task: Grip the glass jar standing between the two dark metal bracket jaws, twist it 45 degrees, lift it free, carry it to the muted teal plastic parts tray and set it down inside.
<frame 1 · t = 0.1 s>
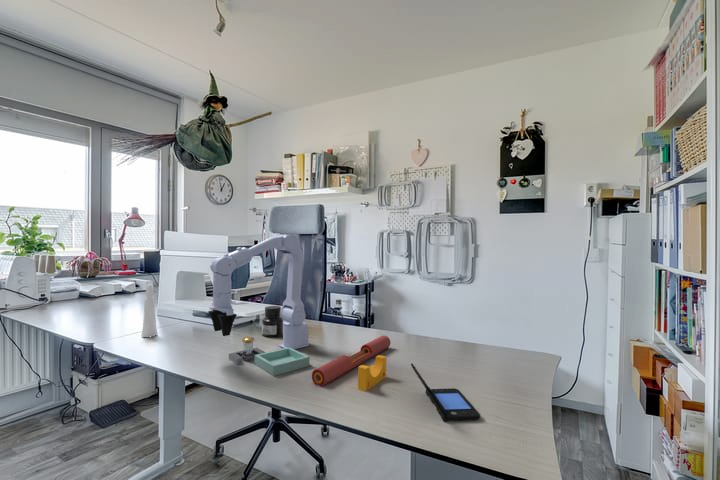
hand: (222, 333, 117), 10 cm above the table, fingers open, 7 cm apart
blood vessel: (356, 365, 118), on the table
glass jar: (248, 348, 121), in the bracket
bracket: (248, 358, 121), on the table
black handheld device: (443, 407, 88), on the table
pipe clamp: (370, 383, 102), on the table
tray: (281, 364, 115), on the table
ink bottle: (272, 335, 151), on the table
cosmetic bottle: (149, 336, 148), on the table
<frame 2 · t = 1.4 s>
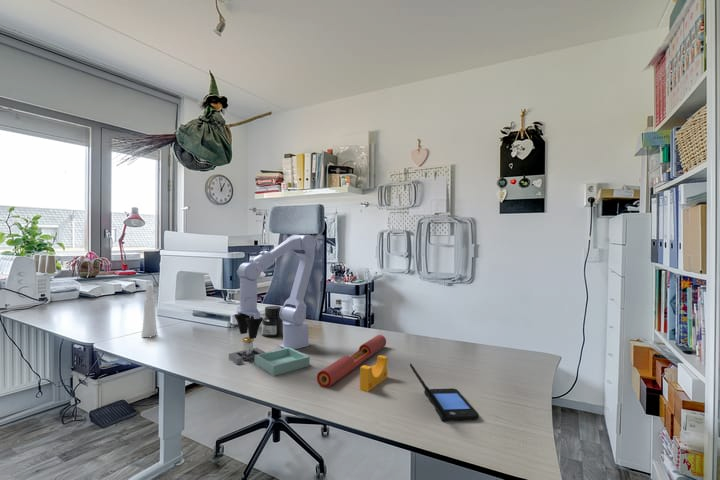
hand: (248, 335, 121), 8 cm above the table, fingers open, 7 cm apart
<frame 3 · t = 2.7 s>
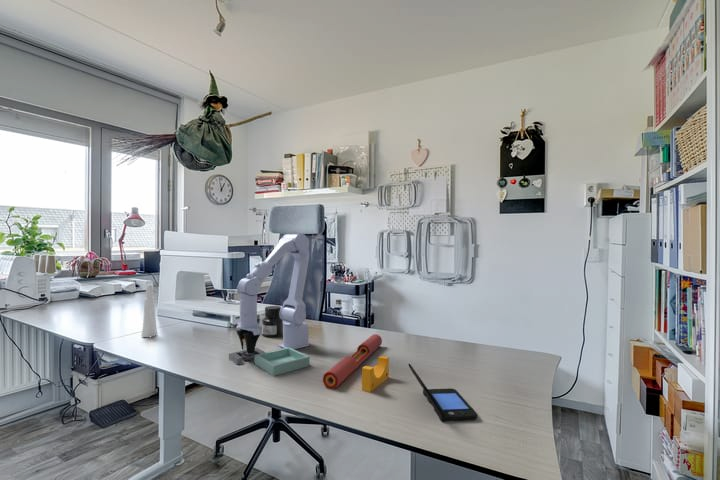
hand: (248, 351, 121), 3 cm above the table, fingers closed on glass jar, 4 cm apart
glass jar: (248, 348, 121), in the bracket, touching gripper
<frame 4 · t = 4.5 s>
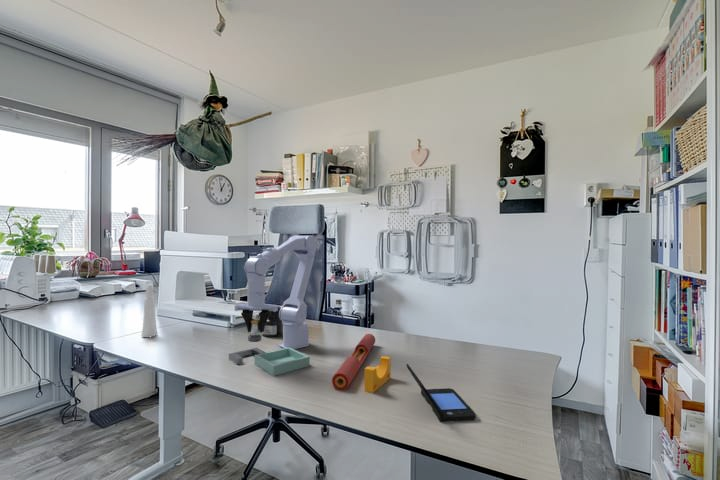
hand: (255, 331, 120), 10 cm above the table, fingers closed on glass jar, 4 cm apart
glass jar: (255, 329, 120), point 10 cm above the table, touching gripper
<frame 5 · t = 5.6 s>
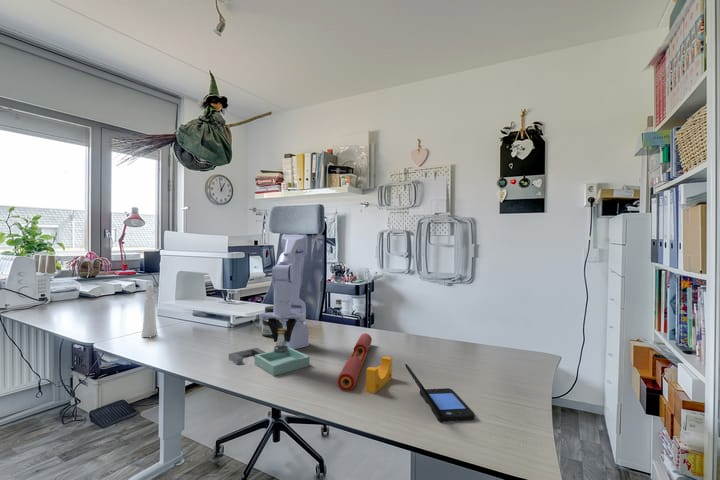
hand: (282, 341, 115), 8 cm above the table, fingers closed on glass jar, 4 cm apart
glass jar: (281, 340, 115), point 8 cm above the table, touching gripper
when the fingers open (4 cm above the table, at t = 6.6 s): glass jar stays where it is, resting on tray.
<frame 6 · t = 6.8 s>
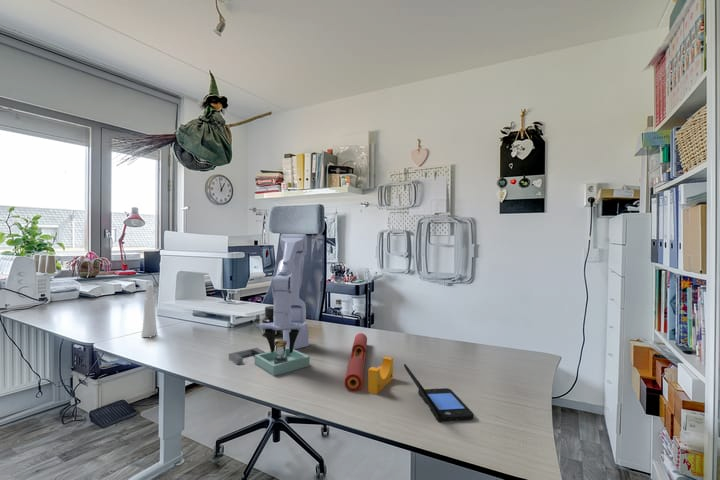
hand: (282, 351, 115), 4 cm above the table, fingers open, 6 cm apart
glass jar: (280, 352, 115), in the tray, point 4 cm above the table
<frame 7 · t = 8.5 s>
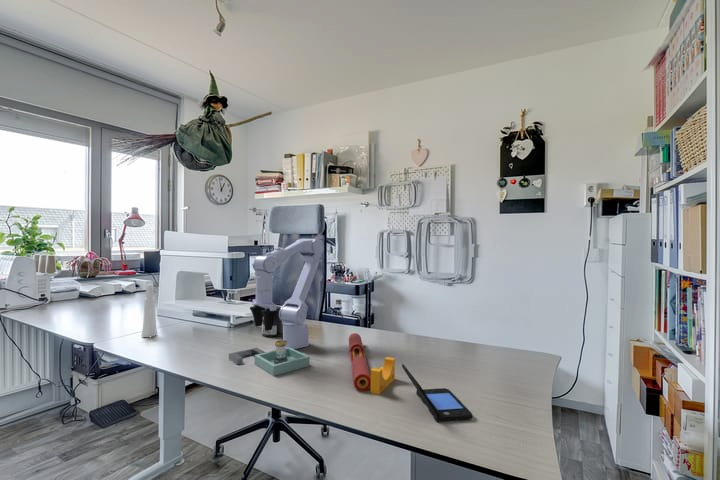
hand: (263, 328, 123), 10 cm above the table, fingers open, 7 cm apart
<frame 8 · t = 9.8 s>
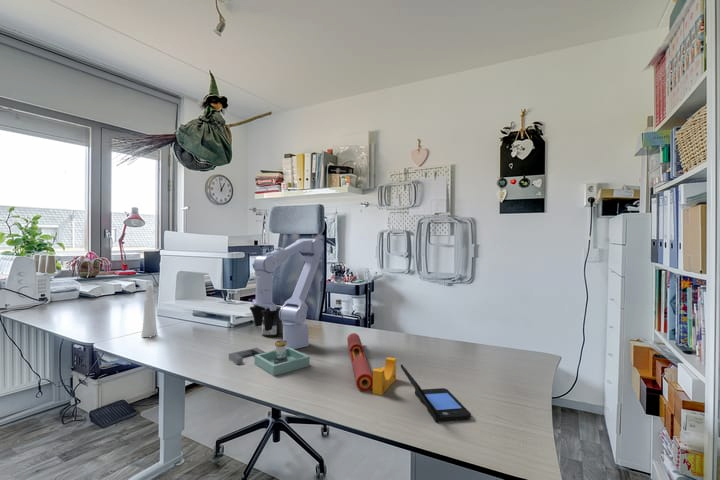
hand: (263, 328, 123), 10 cm above the table, fingers open, 7 cm apart
at the end: glass jar inside the target area on the tray (0.3 cm from its centre), point 4.1 cm above the tray's base; the gripper is holding nothing; glass jar moved 14.1 cm from its start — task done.
